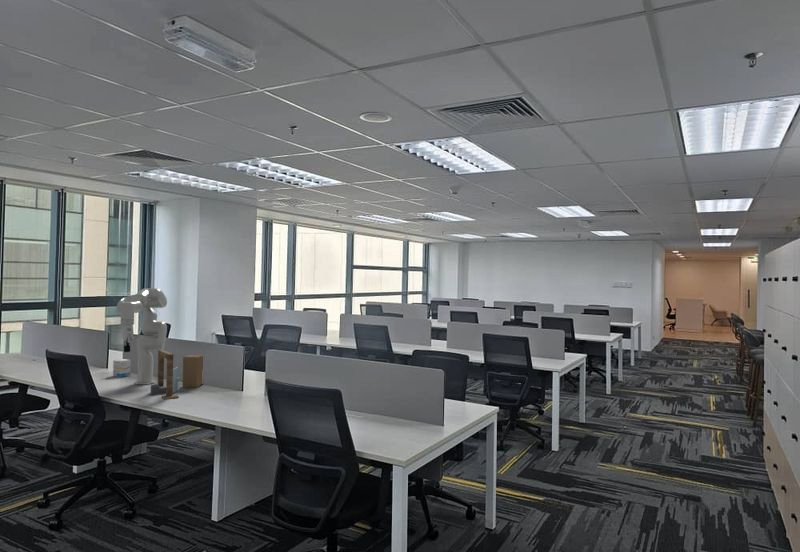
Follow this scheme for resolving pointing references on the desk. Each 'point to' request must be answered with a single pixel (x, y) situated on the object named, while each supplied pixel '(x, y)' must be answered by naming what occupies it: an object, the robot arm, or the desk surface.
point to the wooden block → (192, 370)
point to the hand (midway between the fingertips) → (127, 351)
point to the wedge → (158, 389)
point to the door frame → (169, 379)
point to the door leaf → (175, 379)
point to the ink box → (121, 367)
